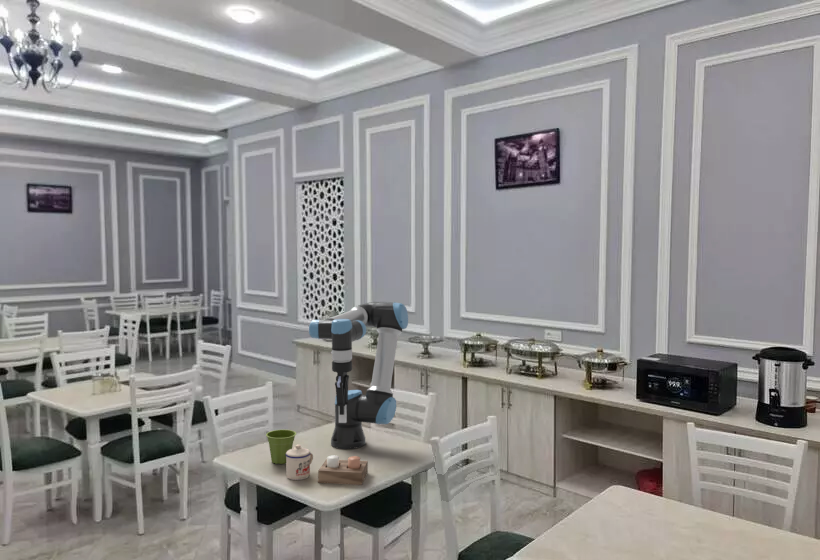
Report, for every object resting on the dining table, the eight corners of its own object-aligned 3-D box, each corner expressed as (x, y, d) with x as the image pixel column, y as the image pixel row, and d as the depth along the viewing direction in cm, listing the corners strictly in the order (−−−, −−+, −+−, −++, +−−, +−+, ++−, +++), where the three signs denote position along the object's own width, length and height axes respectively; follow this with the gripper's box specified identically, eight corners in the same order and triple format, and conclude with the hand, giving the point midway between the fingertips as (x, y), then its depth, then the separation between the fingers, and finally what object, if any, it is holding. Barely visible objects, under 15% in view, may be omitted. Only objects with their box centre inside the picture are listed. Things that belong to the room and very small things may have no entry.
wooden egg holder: (326, 470, 220) (326, 459, 220) (367, 472, 218) (367, 461, 218) (318, 482, 208) (318, 470, 208) (361, 484, 206) (361, 472, 206)
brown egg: (349, 471, 215) (349, 455, 215) (361, 472, 215) (361, 456, 214) (347, 476, 211) (347, 460, 210) (358, 476, 210) (358, 460, 210)
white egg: (328, 470, 216) (328, 455, 216) (340, 471, 215) (340, 455, 215) (325, 475, 211) (325, 459, 211) (337, 475, 211) (337, 459, 211)
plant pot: (285, 468, 222) (285, 439, 222) (259, 464, 227) (259, 435, 226) (302, 458, 233) (302, 431, 233) (277, 454, 238) (277, 427, 237)
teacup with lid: (297, 482, 208) (297, 450, 208) (280, 476, 213) (280, 445, 213) (320, 472, 218) (321, 442, 218) (303, 467, 223) (303, 437, 223)
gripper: (336, 356, 222) (337, 416, 224) (327, 363, 209) (328, 427, 211) (355, 357, 222) (356, 417, 223) (347, 364, 209) (348, 428, 210)
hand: (342, 422), depth 217 cm, fingers closed
